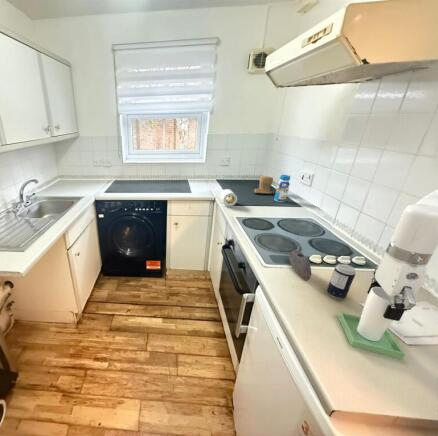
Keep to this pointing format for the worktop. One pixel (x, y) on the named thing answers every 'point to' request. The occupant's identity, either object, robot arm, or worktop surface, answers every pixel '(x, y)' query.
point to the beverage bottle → (282, 188)
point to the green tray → (383, 346)
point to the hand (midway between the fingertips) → (381, 306)
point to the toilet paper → (231, 200)
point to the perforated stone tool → (300, 264)
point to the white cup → (375, 314)
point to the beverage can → (341, 281)
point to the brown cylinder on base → (264, 185)
